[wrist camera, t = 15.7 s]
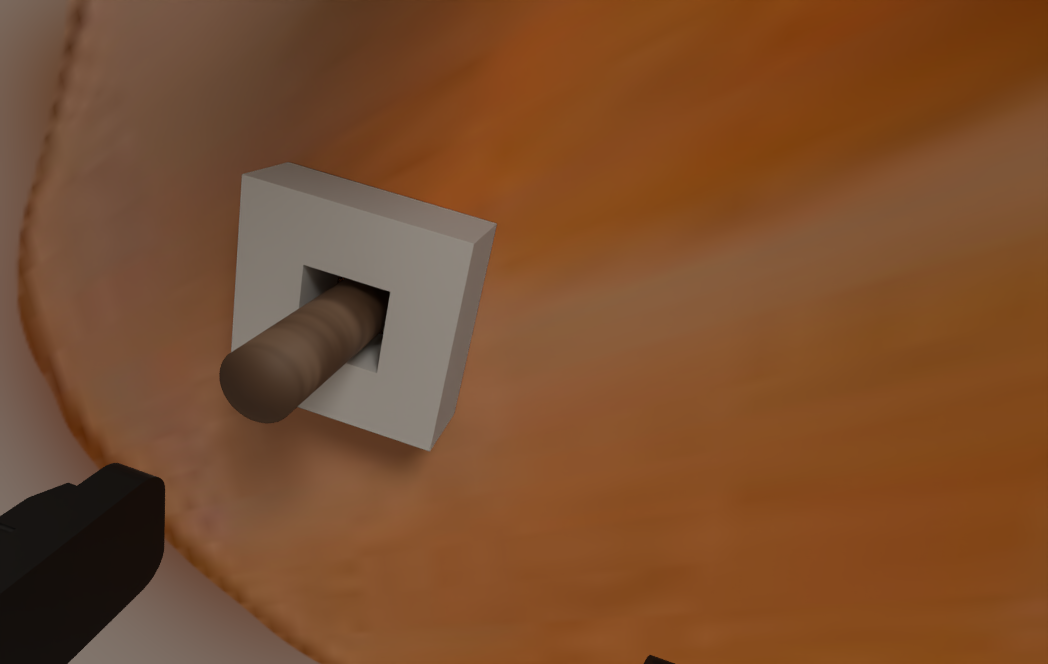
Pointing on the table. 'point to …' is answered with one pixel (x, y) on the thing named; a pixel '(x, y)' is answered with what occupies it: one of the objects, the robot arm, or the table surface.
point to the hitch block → (374, 259)
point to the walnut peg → (302, 351)
